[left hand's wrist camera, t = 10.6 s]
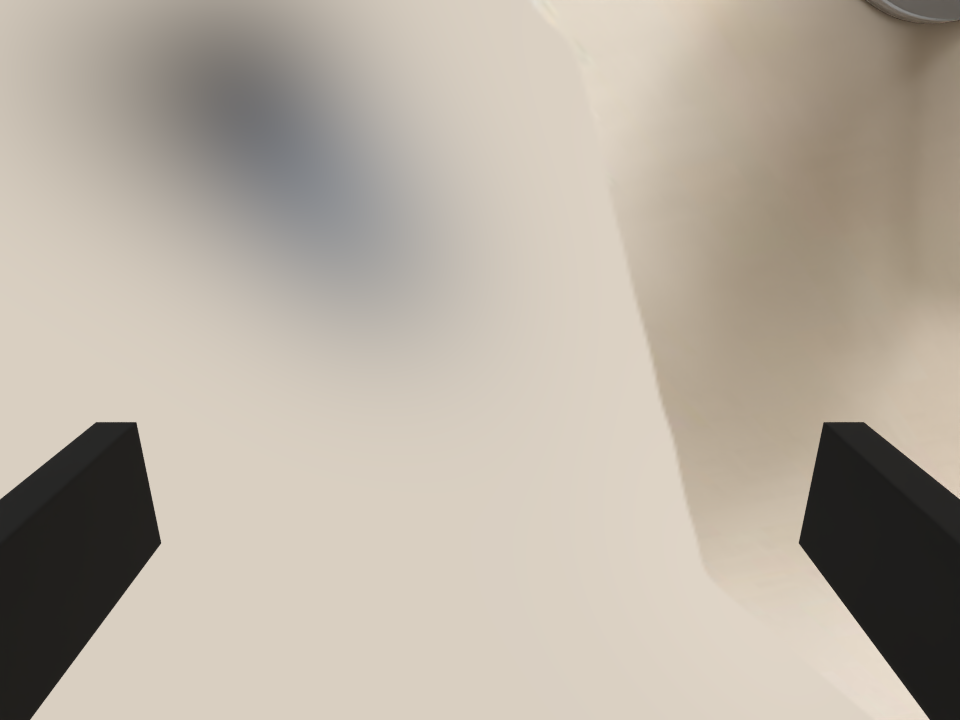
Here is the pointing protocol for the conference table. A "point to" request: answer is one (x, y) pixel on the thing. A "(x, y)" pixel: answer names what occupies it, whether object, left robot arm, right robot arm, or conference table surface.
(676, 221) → the conference table surface
